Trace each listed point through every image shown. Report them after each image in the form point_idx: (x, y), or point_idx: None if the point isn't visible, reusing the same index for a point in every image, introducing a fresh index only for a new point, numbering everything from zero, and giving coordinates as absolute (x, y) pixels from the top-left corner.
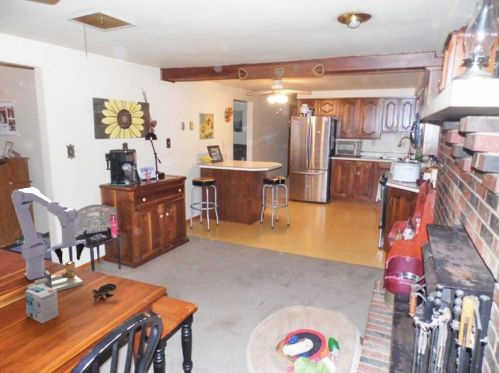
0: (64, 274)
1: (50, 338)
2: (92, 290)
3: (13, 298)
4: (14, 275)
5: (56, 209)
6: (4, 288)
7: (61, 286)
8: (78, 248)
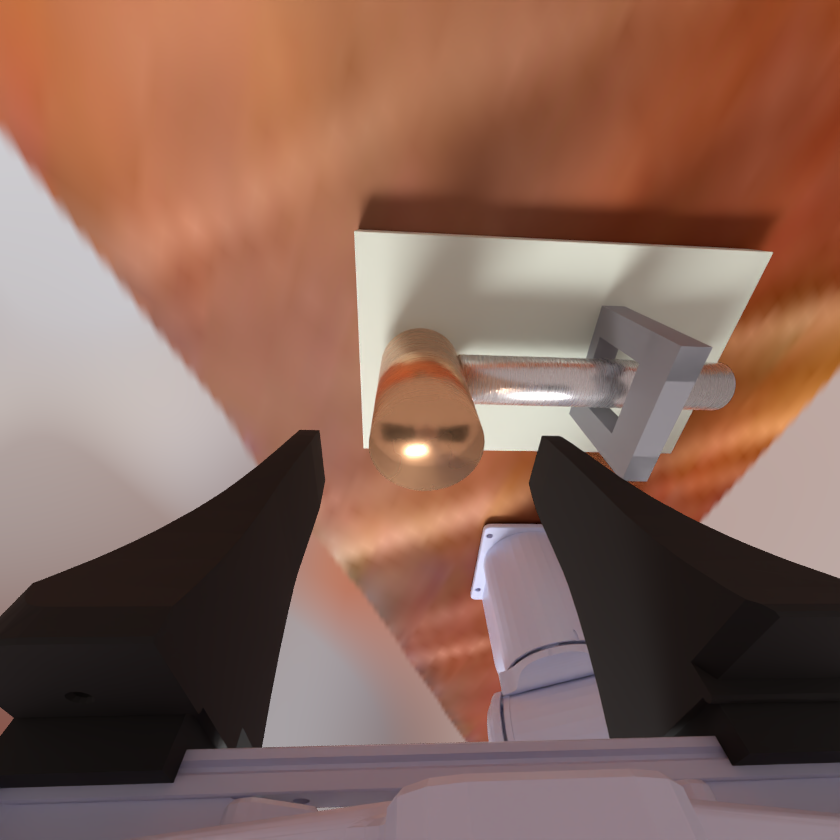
0: (486, 372)
1: None
2: None
3: (806, 349)
4: None
5: None
6: (713, 507)
7: (549, 253)
8: (227, 620)
